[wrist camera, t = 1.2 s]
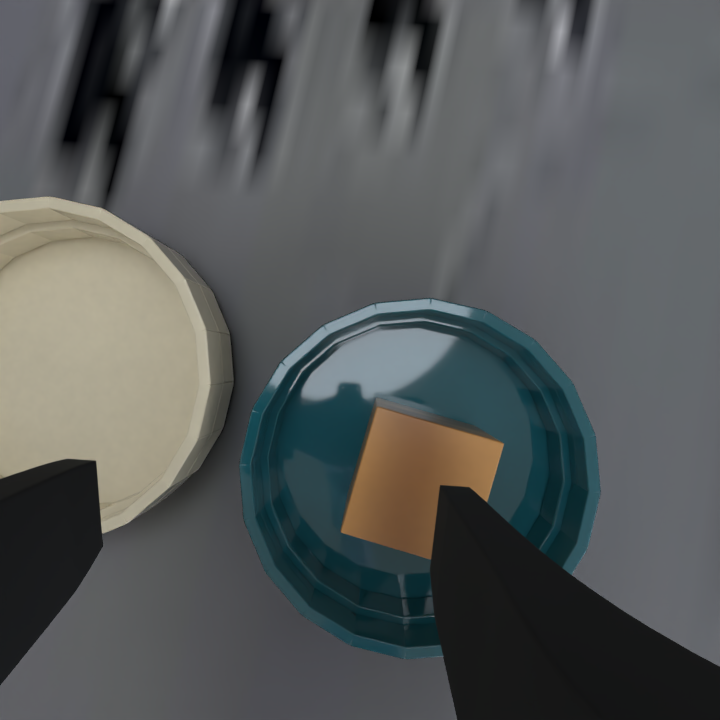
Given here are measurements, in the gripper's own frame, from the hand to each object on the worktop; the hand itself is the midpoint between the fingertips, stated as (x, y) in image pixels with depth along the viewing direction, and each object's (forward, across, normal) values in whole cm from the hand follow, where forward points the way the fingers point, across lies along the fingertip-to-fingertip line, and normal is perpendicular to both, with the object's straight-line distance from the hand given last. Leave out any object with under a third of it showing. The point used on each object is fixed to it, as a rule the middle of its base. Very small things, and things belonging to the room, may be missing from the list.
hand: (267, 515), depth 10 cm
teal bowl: (+10, -4, +3) cm, 12 cm away
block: (+10, -4, +3) cm, 11 cm away
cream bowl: (+11, +10, +1) cm, 15 cm away
